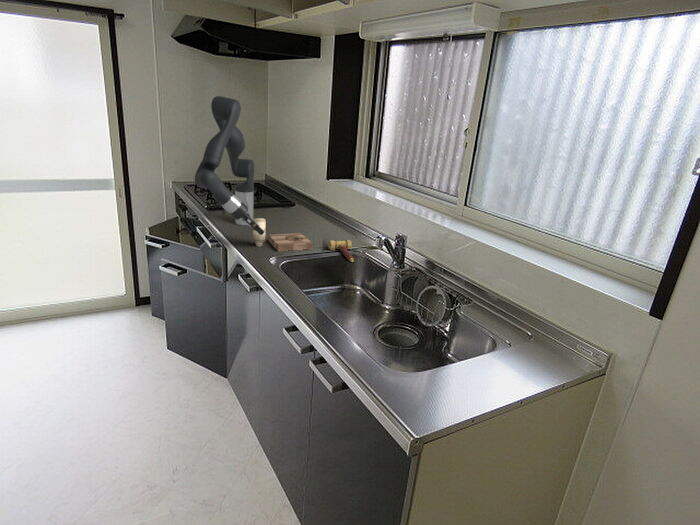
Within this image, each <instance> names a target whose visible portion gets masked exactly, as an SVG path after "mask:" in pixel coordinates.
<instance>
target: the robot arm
mask: <svg viewBox="0 0 700 525" xmlns="http://www.w3.org/2000/svg"><path fill="white" fill-rule="evenodd" d="M210 108H211V114H212V116H213V118H214V121H215V122H216V124H217V127H218V128H219V131H218V132H217V133H216V134H215V135H213V137H211V139H210V140H209V141H208V143H207V144H206V147H205V150H204V153H203V156H202V160H201V162H200V164H198V167H197V169H196V172H195V175H194V183H195V185H196V187H198V188H200V189H207V190H208V191H209V192H210V193H211V194H212V195H211V196H212V198H213V199H214V200H215V201H216V202H217V203H218V204H219V205H220V206H221V207H222V208H223V210H225V211H226V212H227V213H228V214H229V215H230V216H231V217H232V218H233V219H234V220H235V221H234V222H235V224H236V225H240V226H248V227H250V228H252V230H253V229H254V230H256V231H257V232H258V233H259V234H260V235H262V234H263V233H264V231H263V230H262V229H261V228H260V227H259V225H257V224H256V221H255V220H254V219H255V218H254V184H255V162H254V160H253V159H247V158H239V157H240V156H241V154H242V153H243V152H244V151H245V147H246V142H245V139H244V135H243V133H242V131H241V130H240V129H239V128H238V127H237V126H236V125H237V123H238V121H239V119H240V115H241V108H242V105H241V103H240V100H237V99H235V98H230V97H226V96H221V95H216V96H214V97H213V98H212V99H211V105H210ZM225 150H226V152H227V155H228V158H229V163H230V167H231V168H230V169H231V172H232V174H233V176H234V177H236V178H244V179H246V180H245V181H243V182H241V183H237V184H235V186H234V193H233V192H232V191H231V190H230V189H229V188H228V187H227V186H226V185H225V184H224V182H223V181H222V180H221V178H220V177H219V176H218V174H216V169H217V168H219V167H220V164H221V160H222V159H223V155H224V152H225ZM254 224H256V226H255V227H253V225H254Z"/></svg>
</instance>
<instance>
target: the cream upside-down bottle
mask: <svg viewBox="0 0 700 525" xmlns="http://www.w3.org/2000/svg"><path fill="white" fill-rule="evenodd" d="M253 219H254V220H255V221H256V224H257V225H259V227H260V228H261V229H262V230H263V231H264V233H263V234H262V235H260V234H259V233H258V232H257V231H256V230H254V229H253V228H252V241H253V242H254V243H255V246H256V247H262V246H263V244H264V242H266V230H267V228H266V227H267V226H266V225H267V221H266V219H265V218H262V217H261V218H260V217H259V218H253ZM256 224H254V225H253V227H255V226H256Z"/></svg>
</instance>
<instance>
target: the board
mask: <svg viewBox="0 0 700 525" xmlns="http://www.w3.org/2000/svg"><path fill="white" fill-rule="evenodd" d="M267 237H268V240H267V241H268V242H269V243H270V244H271V245H272V247H273V248H274V249H275V250H276V251H277V252H289V251H288V250H294V251H304V250H303V249H309V250H313V242H312V241H311V240H309V239H308V238H307V237H306V236H305V235H304V234H302V233H301V232H296V233H278V234H277V233H275V234H274V233H273V234H268V236H267Z"/></svg>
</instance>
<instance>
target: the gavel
mask: <svg viewBox="0 0 700 525" xmlns="http://www.w3.org/2000/svg"><path fill="white" fill-rule="evenodd" d="M352 245H353V244H352V241H351V239H346V240H329V241H328V245H327V246H328V250H329V249H330V251H335V250H336V249H339V250H340V251H341V253H342V255H343V256H344V257H345V258H346V259H347V261H348V262H351V263H353V262H354V261H355V260H354V256H353V255H352V254H351V252H350V251H349V250H347V249H350V250H351V249H352Z"/></svg>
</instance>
